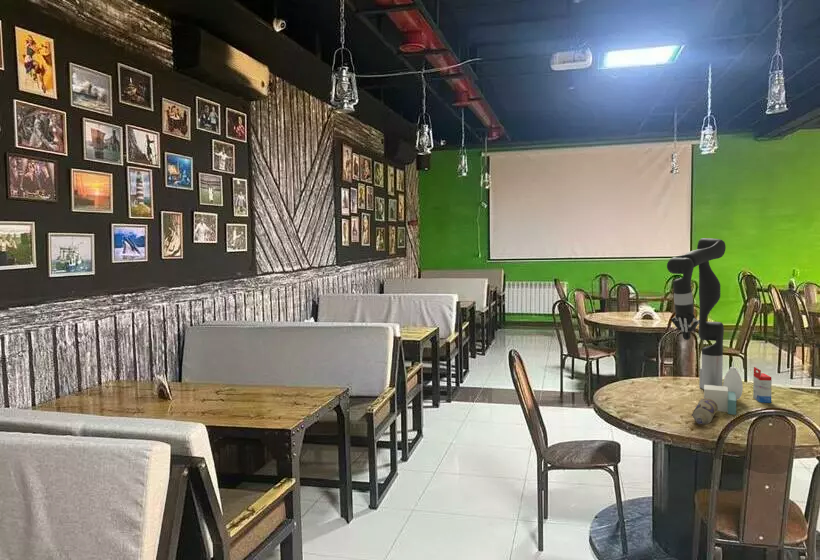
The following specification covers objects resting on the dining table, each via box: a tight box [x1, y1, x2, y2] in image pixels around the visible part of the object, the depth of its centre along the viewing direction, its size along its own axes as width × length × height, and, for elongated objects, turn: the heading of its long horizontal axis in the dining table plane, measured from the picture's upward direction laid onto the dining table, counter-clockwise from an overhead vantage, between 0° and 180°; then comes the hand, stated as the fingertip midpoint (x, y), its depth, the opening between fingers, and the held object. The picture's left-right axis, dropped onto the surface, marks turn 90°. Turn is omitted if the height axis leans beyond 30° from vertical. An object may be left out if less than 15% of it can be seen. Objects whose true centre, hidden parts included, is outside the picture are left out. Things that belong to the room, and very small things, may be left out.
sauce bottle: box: [722, 361, 744, 402], centre depth 264 cm, size 8×8×18 cm
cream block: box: [703, 385, 728, 413], centre depth 254 cm, size 9×9×9 cm
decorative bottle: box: [691, 398, 718, 425], centre depth 235 cm, size 26×8×7 cm, turn 145°
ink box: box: [752, 366, 773, 404], centre depth 265 cm, size 8×5×15 cm, turn 168°
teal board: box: [727, 391, 737, 416], centre depth 251 cm, size 3×16×6 cm, turn 153°
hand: (686, 339), depth 261 cm, fingers closed
